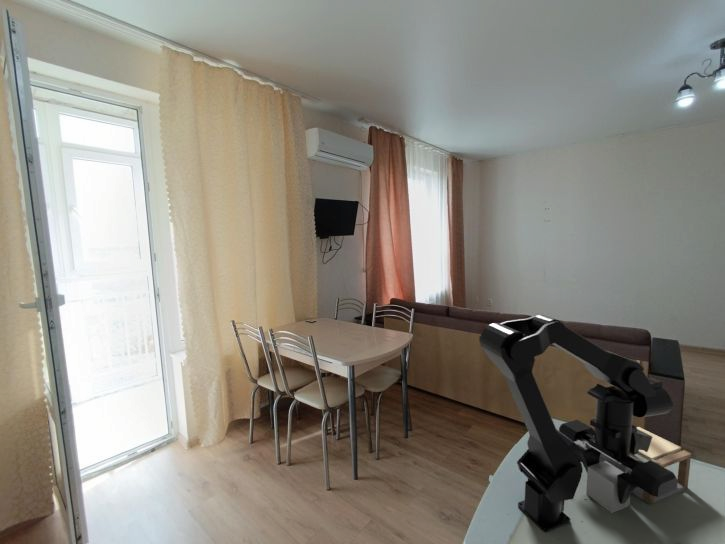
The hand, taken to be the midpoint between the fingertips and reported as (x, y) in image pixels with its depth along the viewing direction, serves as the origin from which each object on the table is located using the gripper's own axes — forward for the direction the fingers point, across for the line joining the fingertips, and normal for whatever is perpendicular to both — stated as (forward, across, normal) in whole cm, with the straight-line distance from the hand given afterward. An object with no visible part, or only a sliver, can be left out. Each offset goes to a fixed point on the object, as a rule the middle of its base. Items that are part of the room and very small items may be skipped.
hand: (607, 492), depth 66 cm
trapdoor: (-1, +2, -12) cm, 12 cm away
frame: (+2, +2, -12) cm, 13 cm away
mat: (+2, +2, -12) cm, 13 cm away
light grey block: (+2, 0, 0) cm, 2 cm away
